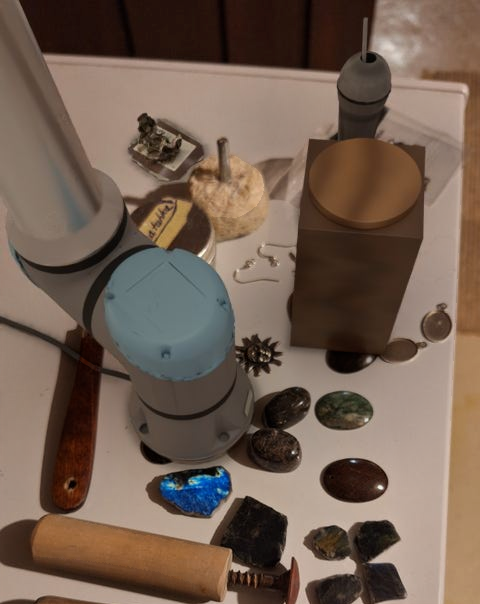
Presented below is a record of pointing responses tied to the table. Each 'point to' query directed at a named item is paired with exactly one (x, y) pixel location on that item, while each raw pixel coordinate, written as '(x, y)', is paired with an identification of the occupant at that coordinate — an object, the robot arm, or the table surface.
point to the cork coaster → (364, 183)
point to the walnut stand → (351, 272)
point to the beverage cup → (362, 93)
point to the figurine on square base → (164, 148)
